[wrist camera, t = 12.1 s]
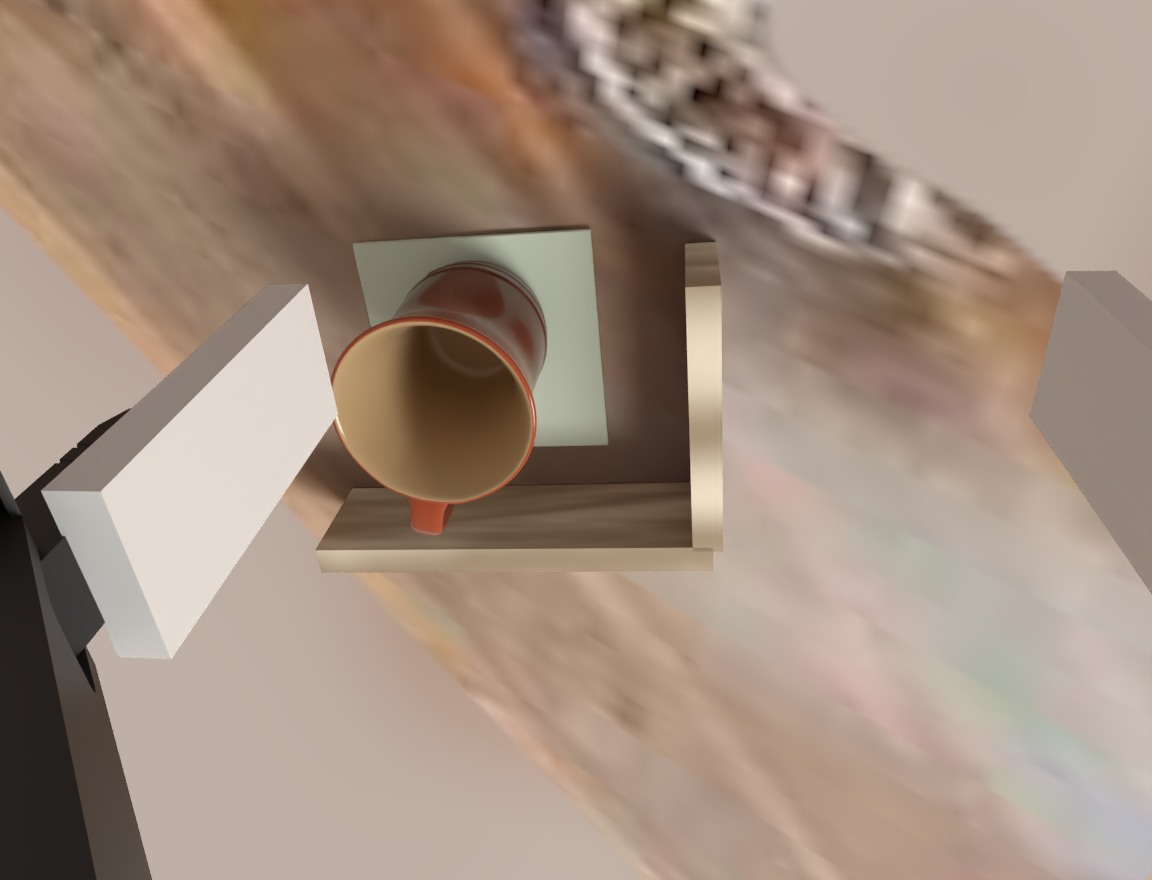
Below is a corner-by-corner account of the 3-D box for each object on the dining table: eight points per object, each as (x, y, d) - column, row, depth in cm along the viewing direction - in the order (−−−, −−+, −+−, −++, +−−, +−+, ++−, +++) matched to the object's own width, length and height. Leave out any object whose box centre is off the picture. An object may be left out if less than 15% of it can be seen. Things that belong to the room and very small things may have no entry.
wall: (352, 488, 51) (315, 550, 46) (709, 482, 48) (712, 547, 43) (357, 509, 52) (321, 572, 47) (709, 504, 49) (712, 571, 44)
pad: (354, 242, 43) (352, 244, 43) (590, 228, 41) (590, 230, 41) (400, 447, 49) (398, 449, 49) (608, 442, 47) (608, 444, 47)
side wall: (684, 243, 41) (685, 287, 36) (716, 241, 41) (721, 285, 36) (691, 486, 48) (692, 551, 43) (718, 485, 48) (722, 551, 43)
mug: (404, 221, 42) (331, 297, 33) (579, 258, 42) (551, 343, 33) (389, 428, 48) (323, 538, 39) (541, 460, 48) (509, 577, 39)
